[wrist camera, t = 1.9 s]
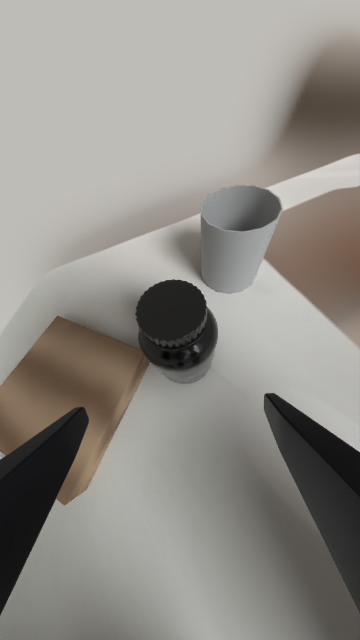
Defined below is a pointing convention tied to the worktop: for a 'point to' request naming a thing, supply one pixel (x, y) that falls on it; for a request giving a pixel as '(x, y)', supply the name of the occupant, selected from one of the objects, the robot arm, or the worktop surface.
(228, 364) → the worktop surface
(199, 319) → the supplement bottle
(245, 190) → the cup
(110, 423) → the walnut block
